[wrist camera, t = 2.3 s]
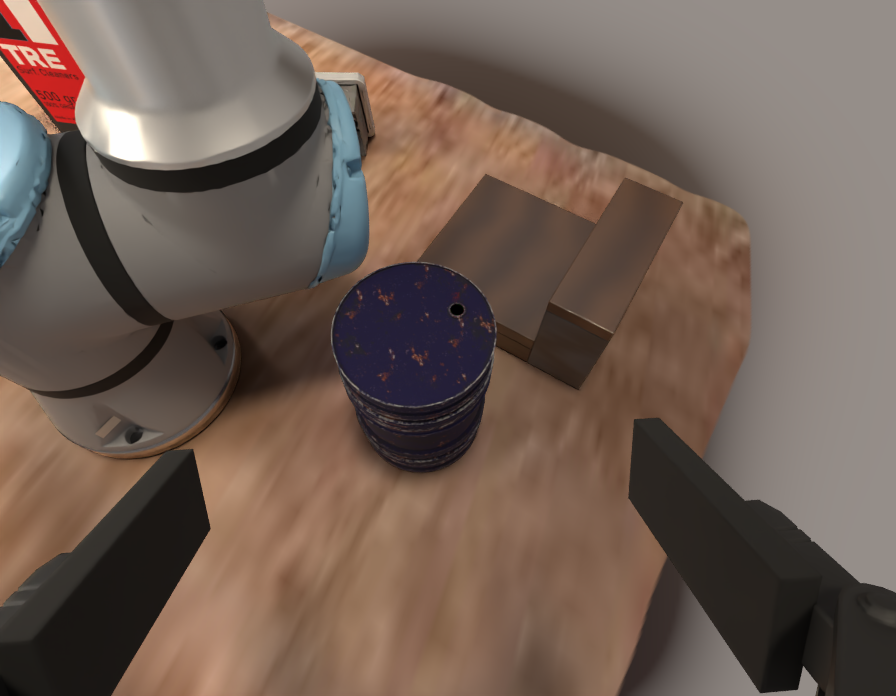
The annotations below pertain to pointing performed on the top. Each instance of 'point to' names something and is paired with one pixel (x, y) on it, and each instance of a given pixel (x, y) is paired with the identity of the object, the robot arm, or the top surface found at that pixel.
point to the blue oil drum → (416, 361)
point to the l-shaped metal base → (554, 268)
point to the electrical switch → (355, 103)
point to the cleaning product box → (40, 60)
